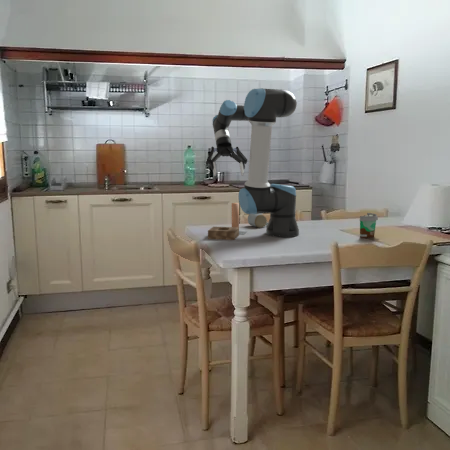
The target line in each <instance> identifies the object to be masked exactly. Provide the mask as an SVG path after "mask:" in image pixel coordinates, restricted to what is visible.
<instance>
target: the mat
mask: <svg viewBox="0 0 450 450" xmlns="http://www.w3.org/2000/svg"><path fill="white" fill-rule="evenodd" d="M247 233H248V231H240V230H239V236H245V235H246V234H247Z"/></svg>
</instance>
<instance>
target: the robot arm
mask: <svg viewBox="0 0 450 450" xmlns="http://www.w3.org/2000/svg"><path fill="white" fill-rule="evenodd" d="M297 104H298V103H297V98H296V97H295V95H294V94H293V93H292V92H291V91H289V90H287V89H277V88H276V89H274V88H261V87H260V88H252V89H251V90H249V92H248V93H247V95H246V96H245V99H244V102H243V105H240V104H239V105H238V104H237V103H236V102H235V101H233V100H230V99H226V100H224V101H223V102H222V103H221V106H220V107H219V110H218V113H217V114H216V115H215V116H214V117H213V118H212V129H213V133H214V137H215V144H216V147H214V146H211V149H210V152H209V154H208V156H207V159H206V162H205V164H207V165H209V166H210V170H211V171H212V172H213V175H214V176H213V177H216V176H217V167H216V163H215V162H217V160H218V159H219V158H220V157H221V156H222V157H230V158H232V159H233V160H235V161H236V162H237V163H239V169H240V173H241V176H242V177H244V174H245V169H246V165H247V162H248V161H249V162H248V177H247V178H248V179H247V180H246V181H245V182H244V187H243V188H240V189H239V192H238V203H239V207H240V209H241V211H242V212H243V213H244V214H247V215H249V214H254V215H255V214H269V216H270V217H269V221H268V222H267V223H268V226H267V225H266V226H267V227H266V230H265V234H266V235H267V236H269V237H275V238H292V237H293V238H294V237H297V236H299V235H300V229H299V226H298V222H297V219H296V211H297V210H296V209H297V208H296V207H297V206H296V205H297V191H296V187H295V186H293V185H287V184H277V183H270V182H269V181H268V180H269V168H270V167H269V166H270V155H271V154H270V153H271V143H272V141H271V140H272V130H273V129H272V128H273V126H274V125H275V124H276V122H277V118H287V117H289V116H291V115H293V113H294V112H295V111H296V109H297V106H298V105H297ZM233 121H236V122H239V121H241V122H242V121H243V122H246V121H247V122H249V123H250V125H251V130H250V131H251V133H250V149H249V160H248V158H247V157H246V156H245V155H244V154H243V152H242V151H241V150H240V148H239V146H236V147H233V146H232V141H231V140H232V139H231V135H230V131H229V128H230V127H229V126H230V124H231V122H233ZM215 152H217V153H216V154H215V155H214V153H215ZM213 155H214V156H213Z"/></svg>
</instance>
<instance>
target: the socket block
mask: <svg viewBox="0 0 450 450" xmlns="http://www.w3.org/2000/svg"><path fill="white" fill-rule="evenodd" d="M239 231H240V226H239V227H232V226H212V227H211V228H209V229H207V239H209V240H228V241H229V240H230V241H235V240H236V239H237V238H238V237H239V236H240V235H239Z"/></svg>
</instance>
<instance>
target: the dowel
mask: <svg viewBox="0 0 450 450" xmlns="http://www.w3.org/2000/svg"><path fill="white" fill-rule="evenodd" d="M231 227H239V228H240V203H239V202H231Z"/></svg>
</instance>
